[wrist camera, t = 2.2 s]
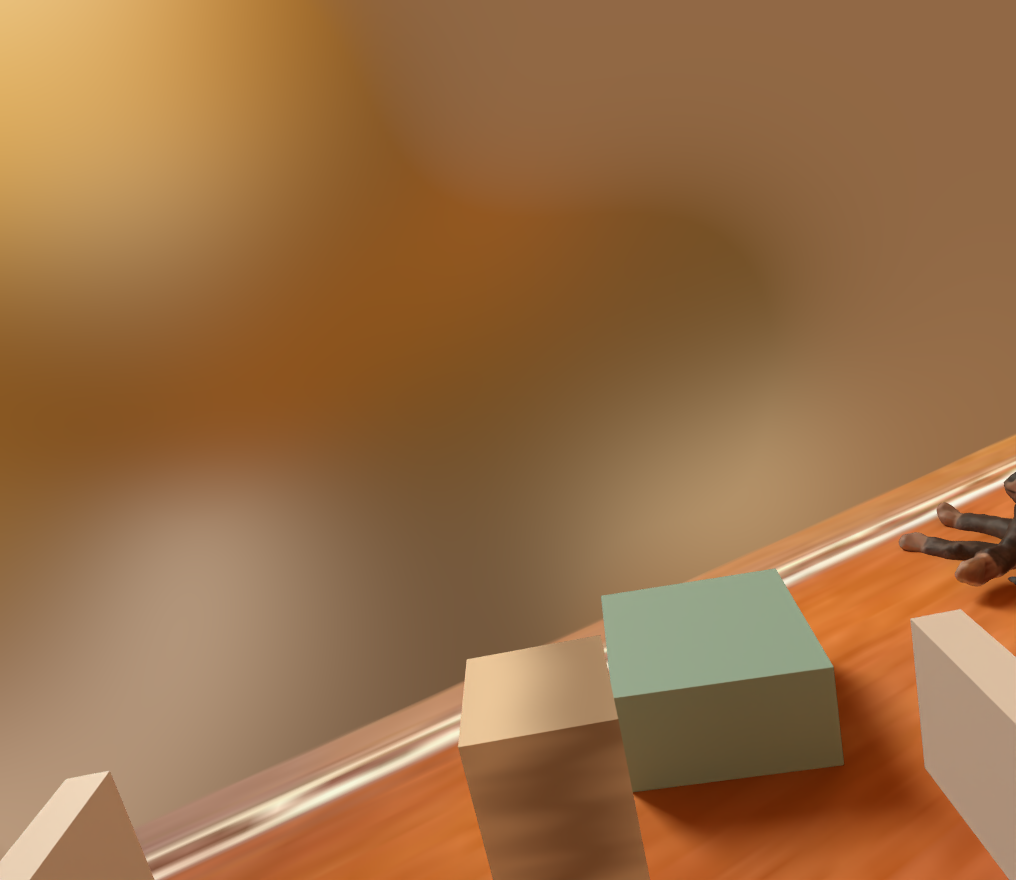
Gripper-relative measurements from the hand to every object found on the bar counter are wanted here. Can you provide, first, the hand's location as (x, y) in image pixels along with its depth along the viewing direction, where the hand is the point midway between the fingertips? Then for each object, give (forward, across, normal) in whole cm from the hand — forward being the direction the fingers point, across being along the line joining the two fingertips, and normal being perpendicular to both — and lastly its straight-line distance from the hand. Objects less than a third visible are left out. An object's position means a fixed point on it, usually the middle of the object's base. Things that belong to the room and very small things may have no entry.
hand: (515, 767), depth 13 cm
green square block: (+22, +6, -16) cm, 29 cm away
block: (+10, -1, -16) cm, 19 cm away
